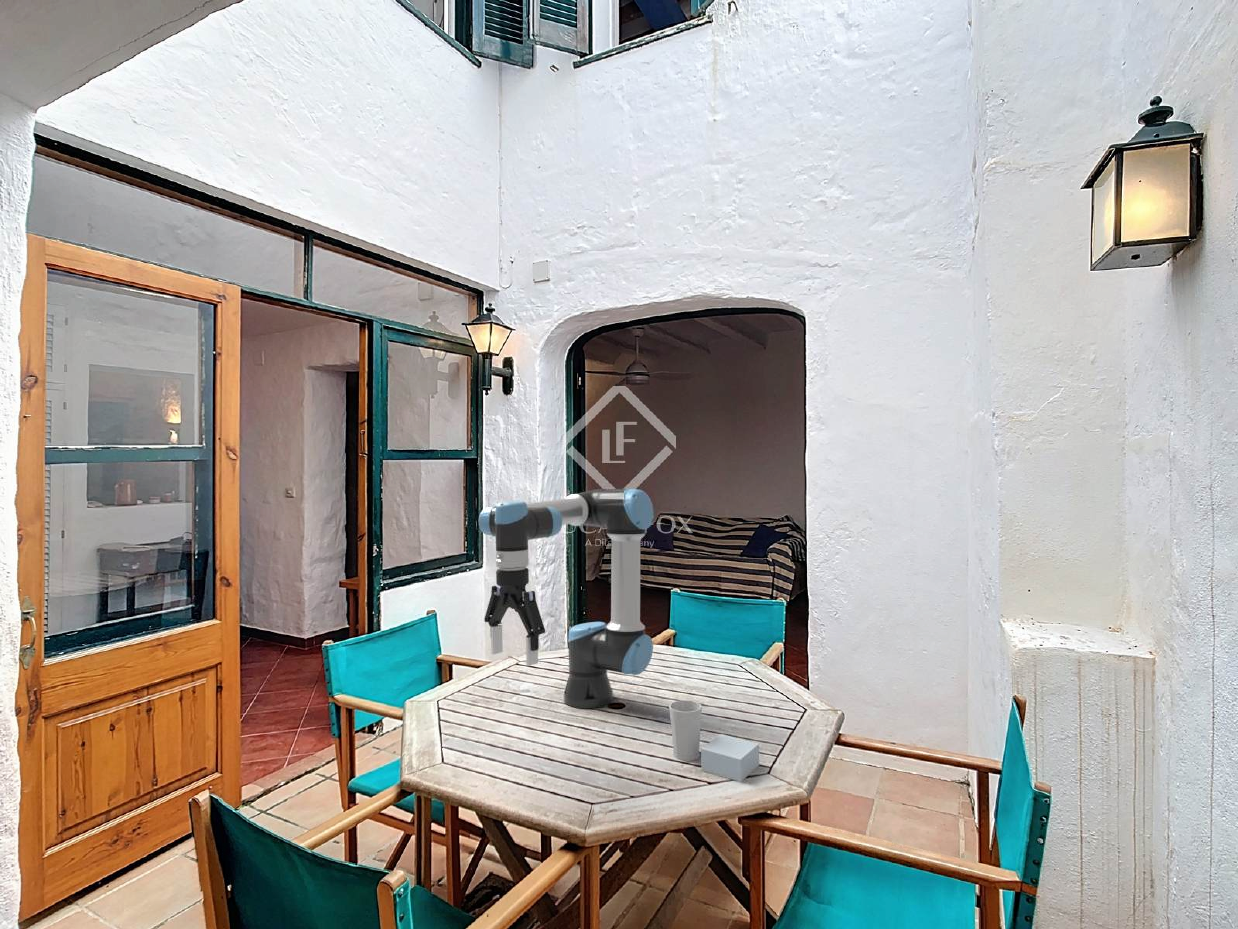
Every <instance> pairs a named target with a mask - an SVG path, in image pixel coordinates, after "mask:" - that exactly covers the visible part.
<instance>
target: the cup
mask: <svg viewBox="0 0 1238 929" xmlns="http://www.w3.org/2000/svg"><path fill="white" fill-rule="evenodd" d="M668 707H669V718H670V719H669V720H670V726H671V735H672V745H673V747H672V748H673V757H674V758H675V759H676V760H679V761H684V762H685V761H687V762H690V761H695V760H697V759H698V758H699V757H700V741H701V739H700V738H701V723H702V722H701V721H702V708H703V705H702V704H701V703H700V702H697V701H694V700H687V699H686V700H685V699H684V700H683V699H681V700H675V701H672V702H670V703H669V706H668Z"/></svg>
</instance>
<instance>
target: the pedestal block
mask: <svg viewBox="0 0 1238 929" xmlns="http://www.w3.org/2000/svg"><path fill="white" fill-rule="evenodd" d="M700 754H701V755H700V763H701V764H700V765H701V771H703V772H705V773H710V774H713V775H716V776H719V777H722V778H726V779H729V780H733V781H736V782H740V783H742V781H744V780H745V779H746V778H747V777H748V776H749V775H750V774H752V773H753V771H754V770H756V769H757V768H758V767H759V766H760V743H759V742H758V743H757V742H753V741H749V740H745V739H741V738H737V737H734V736H729V735H727V734H723V733H720V734H719V735H718V736H716V737H715V738H713V739H712V740H711V741H709V742H708V743H707V744H705V745H704V746H703V747H702V748H700Z"/></svg>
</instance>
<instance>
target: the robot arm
mask: <svg viewBox="0 0 1238 929" xmlns="http://www.w3.org/2000/svg"><path fill="white" fill-rule="evenodd" d="M653 520H654V507H653V502H652V500H651V498H650V497H649V495H648V493H646V492H645V491H644V490H641V489H637V488H599V489H592V490H588V491H583V492H579V493H574V494H569V495H568V496H567V497H566V498H560V499H553V500H545V501H536V502H530V503H527V502H524V501H506V502H505V501H502V502H498V503H497V504H496V506H487V507H485V508H484V509H482V510H481V512H480V514H479V517H478V528H479V530H480V531H481V533H483V534H484V535H486V536H492V537H495V553H496V554H495V559H496V560H495V562H496V563H495V565H496V568H497V569H496V571H495V574H496V576H495V577H496V578H495V580H496V581H495V582H496V585H492V586H491V593H490V598H489V602H488V605H487V609H486V612H485V615H484V622H485V623H488V626H489V627H490V639H491V642H490V643H491V645H490V646H491V655H497V654H501V653H503V651H504V650H503V647H504V646H503V625H502V624H503V622H502V620H503V618H504V617H505V614H506V613H507V611H508V609H509V608H510V609H512V610H514V611H515V612H516V613H517V614H518V616H519V618H520V621H521V622H522V624H523V626H524V629H525V630H526V633H527V635H525V647H526V648H525V652H526V653H525V654H526V655H525V656H526V659H525V660H526V666H528V667H530V666H532V665H533V666H534V665H537V664H538V663H539V652H538V651H539V647H540V645H539V644H540V642H539V641H540V639H539V636H540V635H543V634H545V633H546V629H545V626H544V623H543V619H542V616H541V613H540V610H539V606H538V603H537V598H536V592H535V590H530V591H527V590H526V587H527V585H528V584H529V582H530V581H529V580H530V573H529V572H530V571H529V568H528V566H529V565H530V558H529V541H530V540H537V539H543V538H544V539H545V538H546V539H547V538H551V537H553V536H554V537H555V536H557V535H558V534H559V533H560V531H561V530H562V526H565V525H571V526H573V527H580V526H590V527H599V528H606V535H607V537H608V538H610V540H611V567H610V568H611V572H610V573H611V574H610V575H611V576H610V578H611V580H610V581H611V582H610V584H611V585H610V588H611V589H610V592H611V593H610V594H611V596H610V601H611V602H610V610H611V611H610V621H609V622H608V623H606V622H603V621H592V622H585V623H579V624H576V625H574V626H572V627H570V629H569V630H568V640H567V644H568V645H567V646H568V673H569V674H568V678H567V682H566V685H565V689H564V692H563V702H564V704H566V705H567V706H570V707H572V708H577V709H578V708H579V709H593V708H594V709H596V708H601V707H603V706H607V705H609V704H611V703H612V702H613V701H614V690H613V688H612V686H611V683H610V682H611V681H610V680H609V676H608V671H610V672H614V673H615V672H616V673H620V674H623V675H631V676H637V675H640V674H642V673H643V672H644V671H645V670H646V669H647V668H648V666H649V664H650V662H651V660H652V657H653V653H654V652H653V651H654V643H653V640H652V637H650V635H648V634H646V626H645V625H644V624H643V623H642V622H641V541H642V538H644V537H645V535H646V530H647V529H649V528H650V527H651V525H652V524H653Z"/></svg>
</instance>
